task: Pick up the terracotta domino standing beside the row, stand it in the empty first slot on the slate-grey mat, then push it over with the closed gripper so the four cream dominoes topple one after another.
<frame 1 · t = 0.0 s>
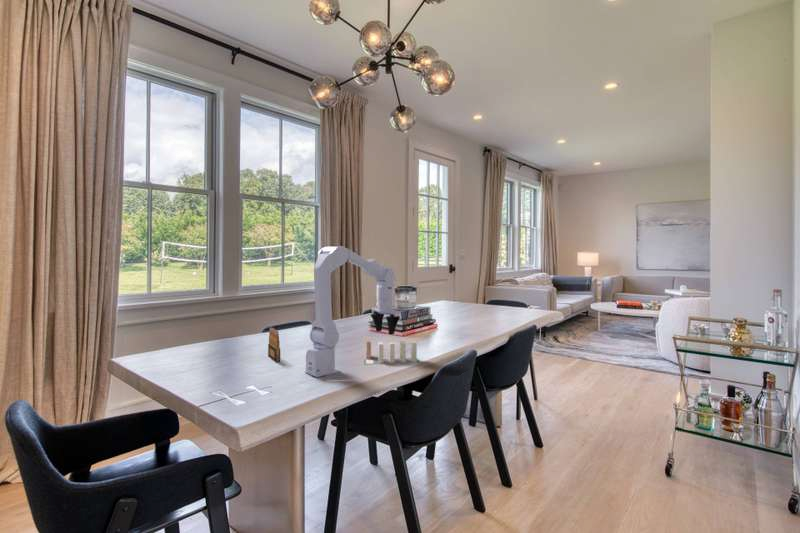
hand: (385, 332, 161), 10 cm above the table, tool pointing down, fingers open, 7 cm apart
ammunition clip: (274, 359, 159), on the table
mat: (391, 362, 155), on the table
domino 5: (413, 360, 156), on the table, touching mat
domino 3: (391, 361, 155), on the table, touching mat
domino 4: (402, 360, 156), on the table, touching mat
domino 2: (380, 361, 155), on the table, touching mat
domino placed: (368, 358, 161), on the table
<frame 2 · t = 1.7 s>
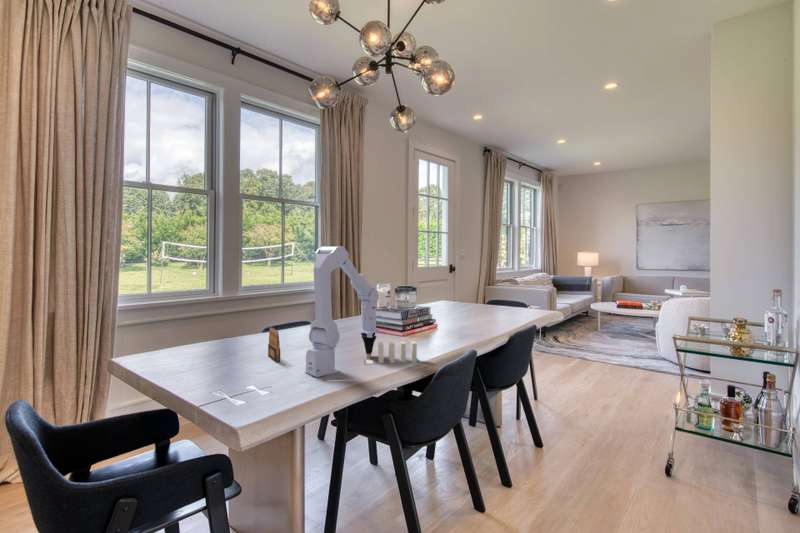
hand: (368, 352, 161), 2 cm above the table, tool pointing down, fingers closed on domino placed, 4 cm apart
domino placed: (368, 358, 161), on the table, touching gripper
everything else where it was.
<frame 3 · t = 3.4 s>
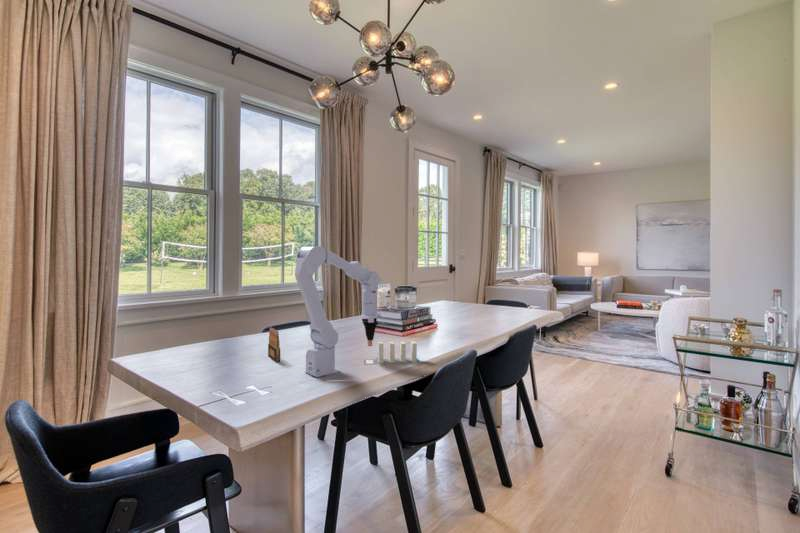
hand: (369, 338, 154), 9 cm above the table, tool pointing down, fingers closed on domino placed, 4 cm apart
domino placed: (369, 344, 154), point 7 cm above the table, touching gripper
everything else where it was.
when the fingers open (4 cm above the table, at t = 5.0 s): domino placed stays where it is, resting on mat.
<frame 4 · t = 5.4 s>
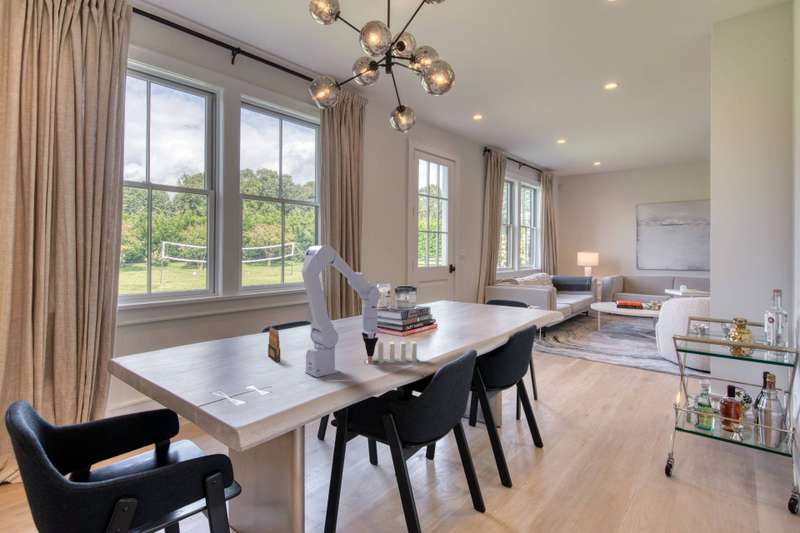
hand: (369, 353, 154), 4 cm above the table, tool pointing down, fingers open, 7 cm apart
domino placed: (369, 361, 154), resting on mat
everything else where it was.
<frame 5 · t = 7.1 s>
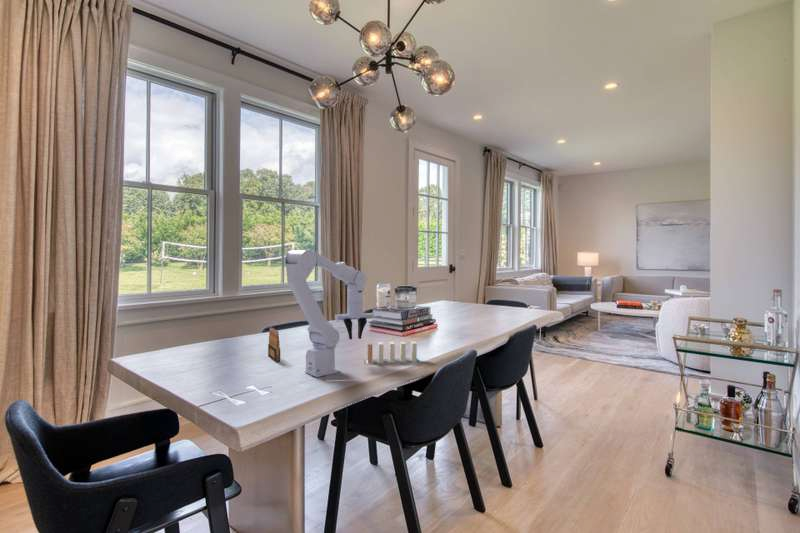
hand: (355, 338, 153), 9 cm above the table, tool pointing down, fingers open, 3 cm apart
nothing on the table moved.
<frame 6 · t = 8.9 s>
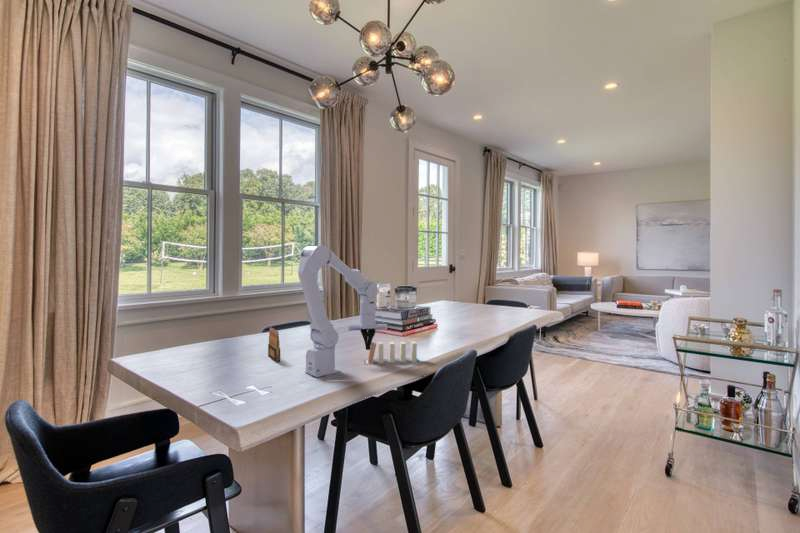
hand: (367, 349, 154), 5 cm above the table, tool pointing down, fingers closed
domino placed: (369, 361, 154), point 1 cm above the table, tilted 12°, touching mat
everything else where it was.
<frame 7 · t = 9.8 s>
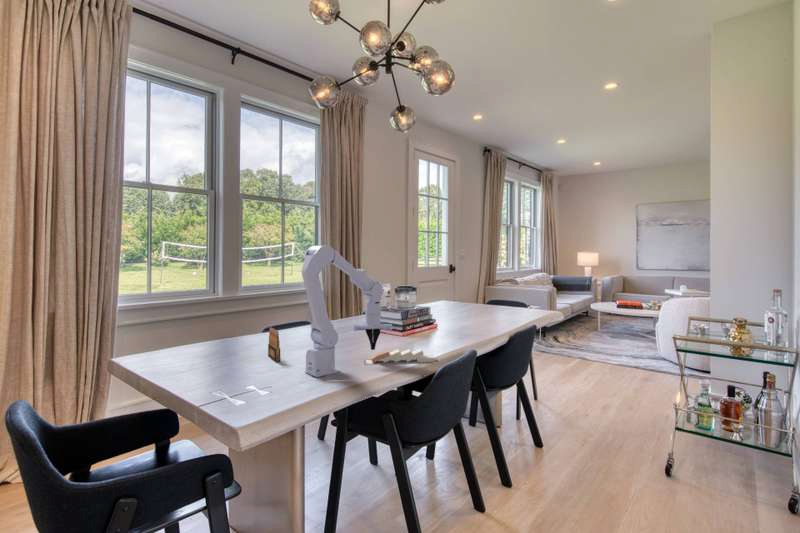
hand: (372, 349, 154), 5 cm above the table, tool pointing down, fingers closed
domino 5: (416, 358, 156), point 1 cm above the table, tilted 94°, touching domino 4, mat
domino 3: (393, 359, 155), point 1 cm above the table, tilted 68°, touching domino 2, mat
domino 4: (405, 358, 156), point 1 cm above the table, tilted 68°, touching domino 5, mat
domino 2: (382, 359, 155), point 1 cm above the table, tilted 68°, touching domino 3, domino placed, mat
domino placed: (371, 359, 154), point 1 cm above the table, tilted 68°, touching domino 2, mat
everything else where it was.
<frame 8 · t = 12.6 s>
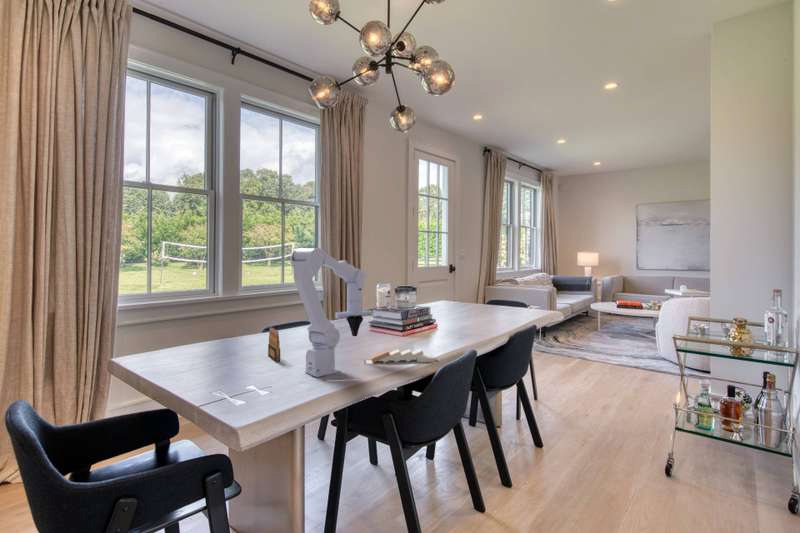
hand: (354, 335, 156), 10 cm above the table, tool pointing down, fingers closed
domino 3: (393, 359, 155), point 1 cm above the table, tilted 68°, touching domino 2, domino 4, mat
domino 4: (405, 358, 156), point 1 cm above the table, tilted 68°, touching domino 3, domino 5, mat
everything else where it was.
at the end: domino placed 0.6 cm from the target spot, point 1.2 cm above the table; domino 5 tilted 94° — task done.
